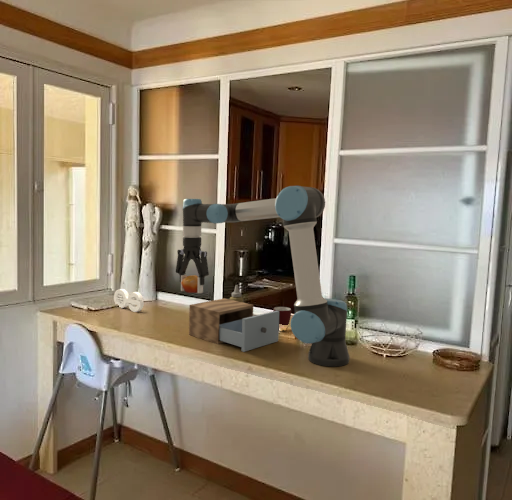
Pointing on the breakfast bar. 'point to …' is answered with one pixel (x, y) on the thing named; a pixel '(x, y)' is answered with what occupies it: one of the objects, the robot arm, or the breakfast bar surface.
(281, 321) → the mug
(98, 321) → the breakfast bar surface
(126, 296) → the contact lens case
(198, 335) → the wooden drawer cabinet
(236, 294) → the squeeze bottle
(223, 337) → the grey drawer
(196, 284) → the fruit
